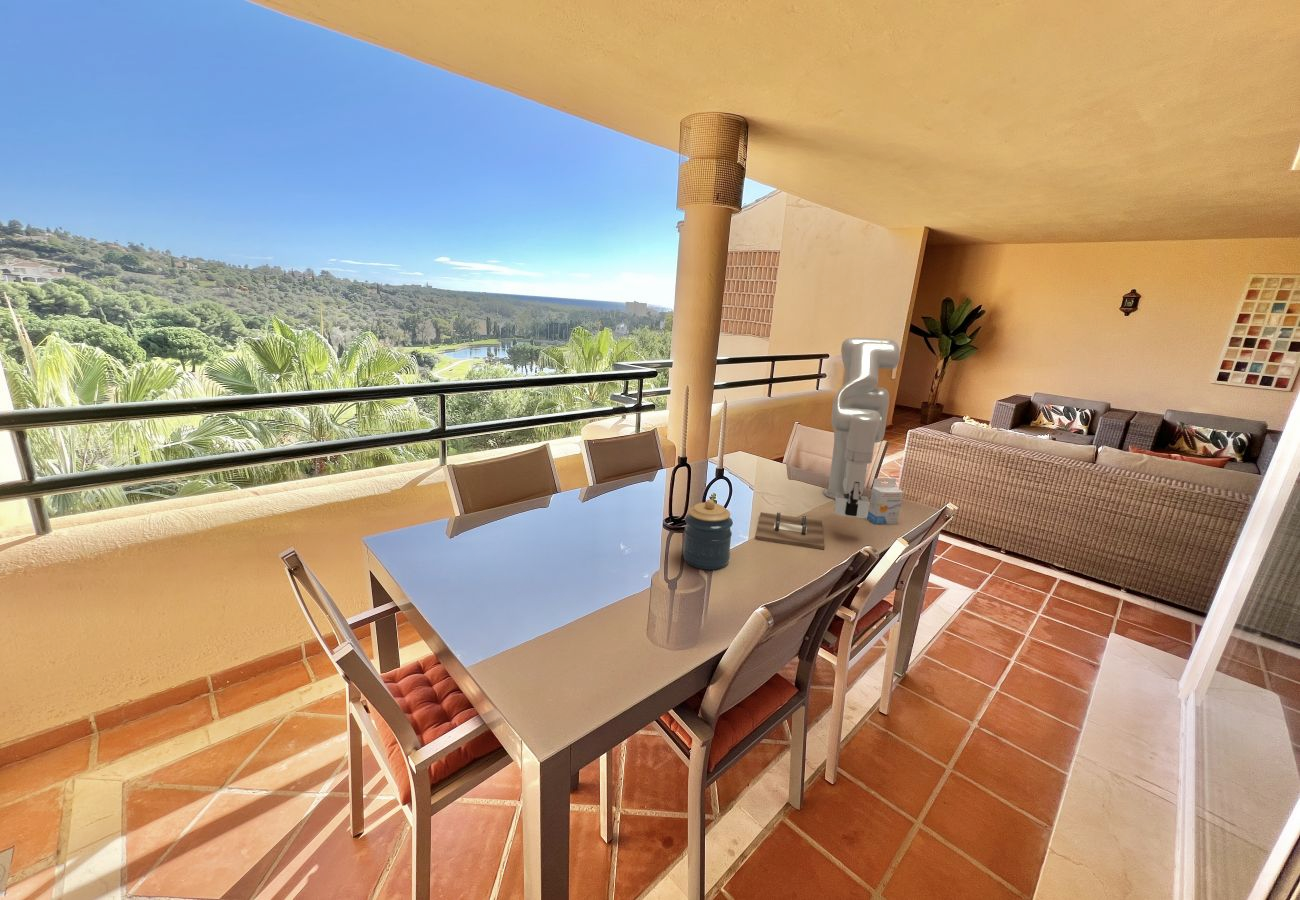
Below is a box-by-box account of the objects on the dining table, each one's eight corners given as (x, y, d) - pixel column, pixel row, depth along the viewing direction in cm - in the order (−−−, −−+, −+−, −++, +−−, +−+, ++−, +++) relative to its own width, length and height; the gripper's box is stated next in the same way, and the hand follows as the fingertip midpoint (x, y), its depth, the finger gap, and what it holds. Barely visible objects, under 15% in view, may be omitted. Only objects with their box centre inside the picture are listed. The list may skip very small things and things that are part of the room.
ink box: (874, 524, 167) (881, 482, 163) (866, 518, 172) (873, 478, 168) (898, 524, 168) (905, 482, 164) (889, 518, 173) (896, 477, 169)
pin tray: (760, 515, 171) (761, 503, 170) (821, 523, 166) (823, 512, 165) (755, 539, 153) (756, 526, 152) (824, 549, 148) (825, 536, 146)
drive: (834, 508, 158) (836, 492, 156) (864, 512, 155) (867, 495, 154) (834, 514, 154) (837, 497, 152) (866, 518, 151) (869, 501, 150)
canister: (728, 573, 132) (733, 511, 127) (679, 567, 134) (683, 506, 130) (730, 551, 144) (735, 494, 140) (685, 546, 147) (689, 489, 142)
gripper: (843, 446, 158) (835, 500, 163) (847, 462, 142) (838, 521, 148) (868, 449, 156) (860, 503, 161) (876, 465, 140) (866, 525, 146)
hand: (850, 511), depth 154 cm, fingers closed on drive, 4 cm apart
